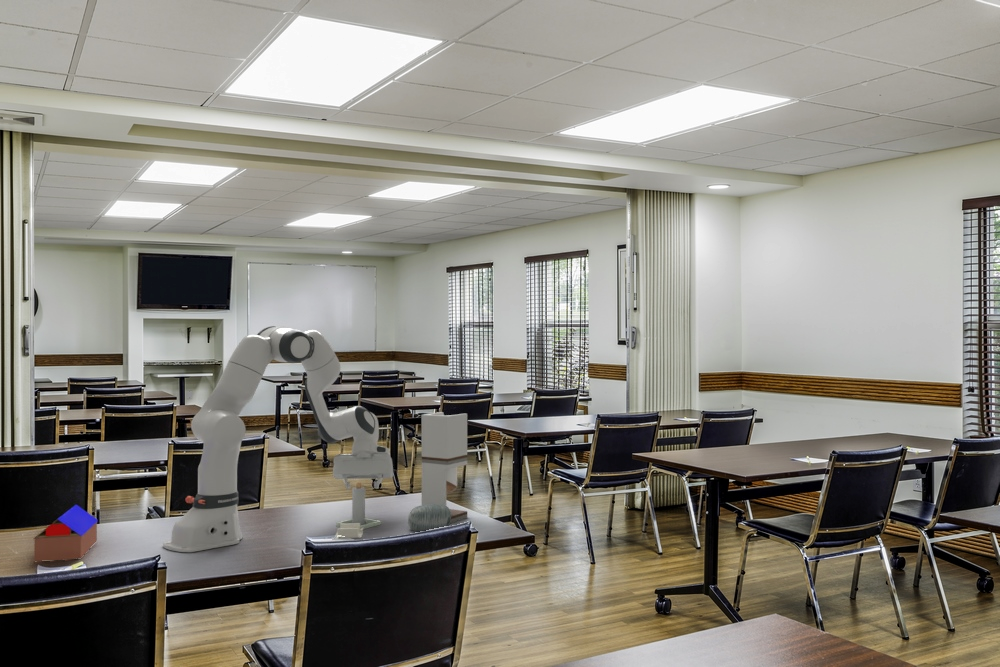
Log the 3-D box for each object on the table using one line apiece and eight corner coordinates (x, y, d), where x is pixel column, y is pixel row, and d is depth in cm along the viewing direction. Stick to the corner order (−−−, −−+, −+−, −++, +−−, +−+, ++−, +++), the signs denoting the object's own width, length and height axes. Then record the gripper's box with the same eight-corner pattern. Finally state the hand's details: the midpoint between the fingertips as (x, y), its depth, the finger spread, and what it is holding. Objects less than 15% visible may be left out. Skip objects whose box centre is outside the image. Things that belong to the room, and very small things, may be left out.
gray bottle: (358, 527, 253) (358, 484, 254) (349, 526, 256) (349, 483, 256) (367, 525, 257) (367, 482, 257) (358, 523, 259) (358, 481, 259)
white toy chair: (334, 540, 240) (334, 529, 240) (338, 531, 251) (338, 520, 251) (361, 540, 240) (361, 528, 240) (364, 531, 252) (364, 520, 252)
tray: (358, 532, 249) (358, 526, 249) (336, 528, 255) (336, 522, 255) (381, 526, 257) (381, 521, 257) (358, 522, 263) (358, 517, 263)
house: (98, 542, 239) (98, 503, 239) (81, 560, 219) (81, 517, 219) (53, 545, 236) (53, 505, 236) (32, 563, 216) (32, 520, 216)
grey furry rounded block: (447, 514, 260) (444, 491, 255) (456, 533, 252) (452, 509, 247) (407, 527, 256) (402, 503, 251) (414, 547, 248) (410, 523, 244)
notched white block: (447, 524, 261) (447, 416, 261) (421, 520, 267) (421, 414, 267) (467, 517, 271) (467, 413, 271) (441, 513, 276) (441, 412, 277)
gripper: (333, 448, 274) (329, 482, 265) (393, 448, 276) (392, 482, 266) (334, 459, 279) (331, 493, 269) (394, 459, 280) (392, 492, 271)
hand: (361, 487), depth 268 cm, fingers open, 8 cm apart
